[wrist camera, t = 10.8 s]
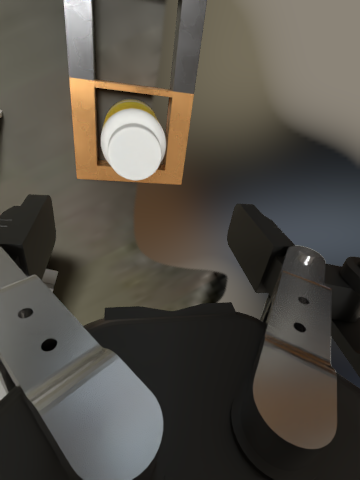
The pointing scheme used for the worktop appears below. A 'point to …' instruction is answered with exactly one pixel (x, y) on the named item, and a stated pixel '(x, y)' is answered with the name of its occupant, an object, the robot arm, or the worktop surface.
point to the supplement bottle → (133, 139)
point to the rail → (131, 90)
